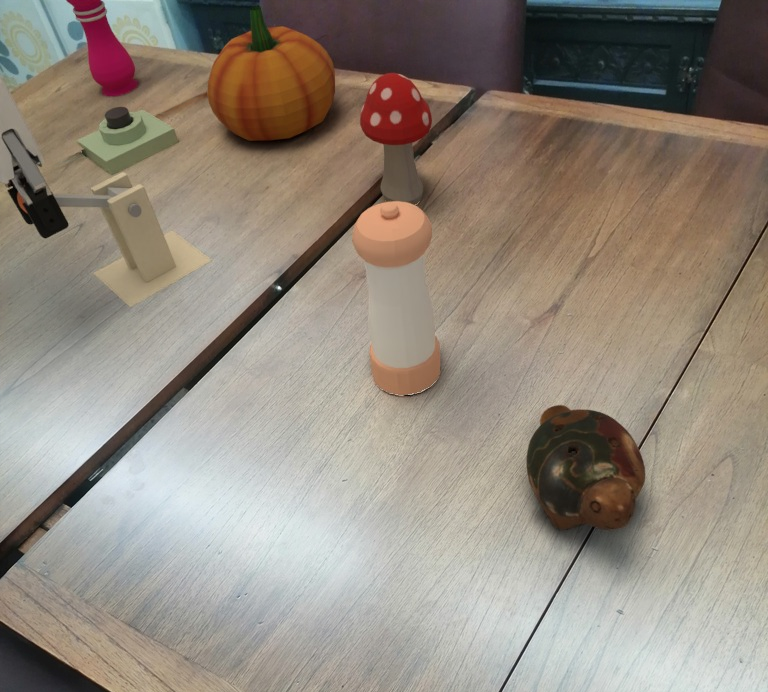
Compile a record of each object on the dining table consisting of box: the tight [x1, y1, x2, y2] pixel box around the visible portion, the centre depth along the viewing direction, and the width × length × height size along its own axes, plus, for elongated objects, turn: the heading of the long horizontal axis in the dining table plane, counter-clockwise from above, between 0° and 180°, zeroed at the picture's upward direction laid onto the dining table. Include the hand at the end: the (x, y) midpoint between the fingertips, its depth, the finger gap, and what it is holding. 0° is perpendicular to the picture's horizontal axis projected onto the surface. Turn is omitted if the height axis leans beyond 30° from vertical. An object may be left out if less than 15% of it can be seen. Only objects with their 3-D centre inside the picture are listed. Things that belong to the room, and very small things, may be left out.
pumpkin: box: [206, 5, 336, 142], centre depth 102 cm, size 19×19×15 cm
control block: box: [76, 108, 179, 176], centre depth 107 cm, size 12×10×4 cm
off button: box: [104, 106, 132, 129], centre depth 105 cm, size 4×4×2 cm
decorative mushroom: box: [359, 72, 433, 205], centre depth 87 cm, size 10×9×15 cm
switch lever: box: [17, 185, 130, 213], centre depth 77 cm, size 13×3×3 cm, turn 132°
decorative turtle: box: [526, 404, 646, 531], centre depth 60 cm, size 10×15×8 cm, turn 17°
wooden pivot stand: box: [90, 171, 213, 308], centre depth 84 cm, size 12×10×12 cm
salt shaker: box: [351, 201, 442, 395], centre depth 66 cm, size 7×7×19 cm
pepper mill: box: [65, 0, 139, 97], centre depth 111 cm, size 7×7×20 cm
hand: (47, 223), depth 76 cm, fingers closed on switch lever, 3 cm apart
